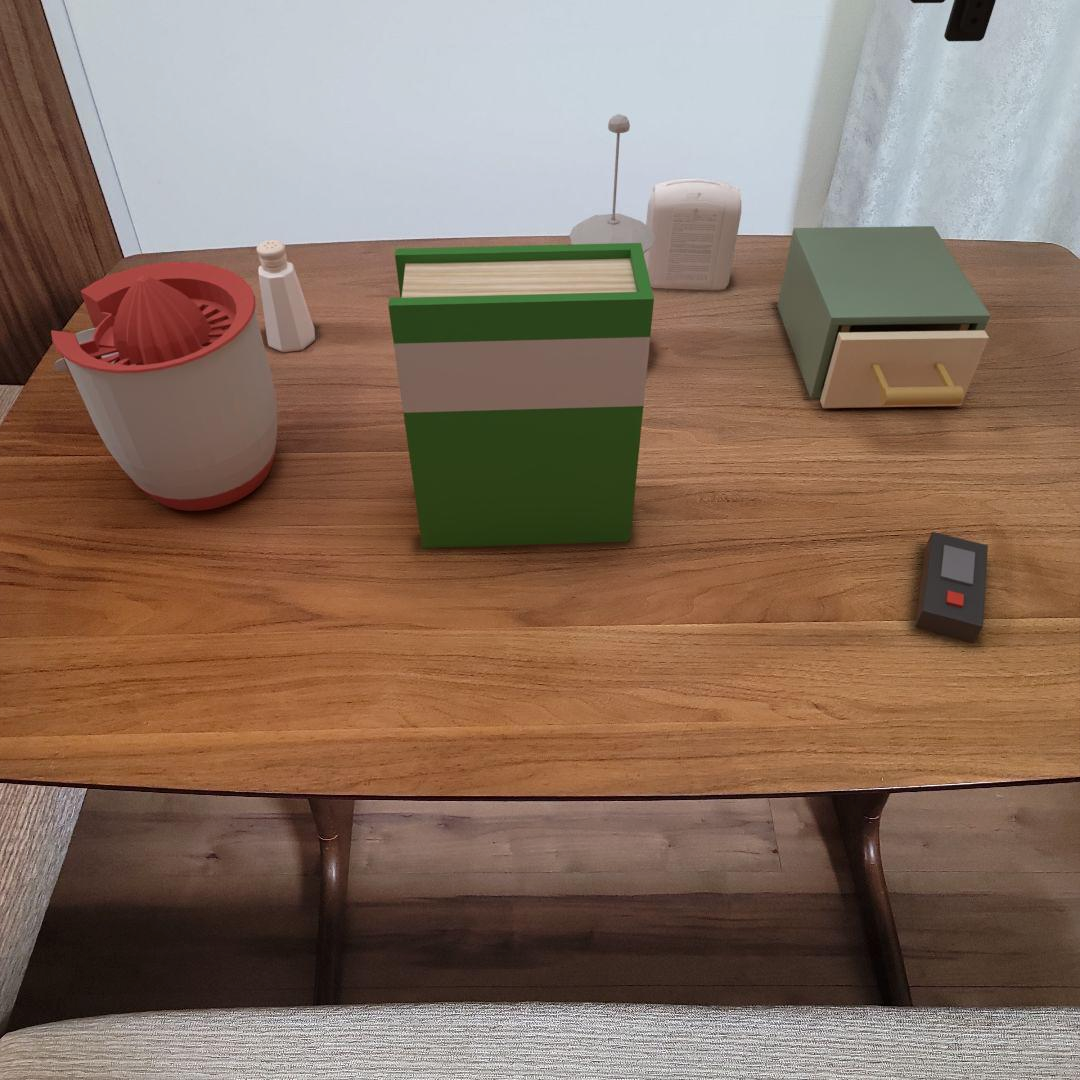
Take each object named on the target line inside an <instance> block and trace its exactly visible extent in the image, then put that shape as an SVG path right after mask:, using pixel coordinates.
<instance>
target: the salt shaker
mask: <svg viewBox="0 0 1080 1080" xmlns="http://www.w3.org/2000/svg"><path fill="white" fill-rule="evenodd" d="M255 250H256V253H257V254H258V259H259V262H260V266H258V283H259V289H260V290H259V291H260V297H261V304H262V310H263V319H264V324H265V333H266V340H267V341H266V342H267V346H268V347H269V348H272V349H274V350H276V351H278V352H281V353H291V352H298V351H299V352H300V351H303V350H304V349H306V348H307V347H309V346H310V345H311V344H313V343H314V342H315V341H316V329H315V326H314V323H313V320H312V317H311V314H310V311H309V308H308V305H307V301H306V299H305V296H304V293H303V290H302V287H301V284H300V281H299V278H298V274H297V272H296V268H295V266H294V264H293V263H292V262H290V261H288V256H287V253H286V244H285V243H284V242H282V241H281V240H278V239H268V240H263V241H262V242H260V243H259V244H258V245H257V247H256V249H255Z"/></svg>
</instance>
